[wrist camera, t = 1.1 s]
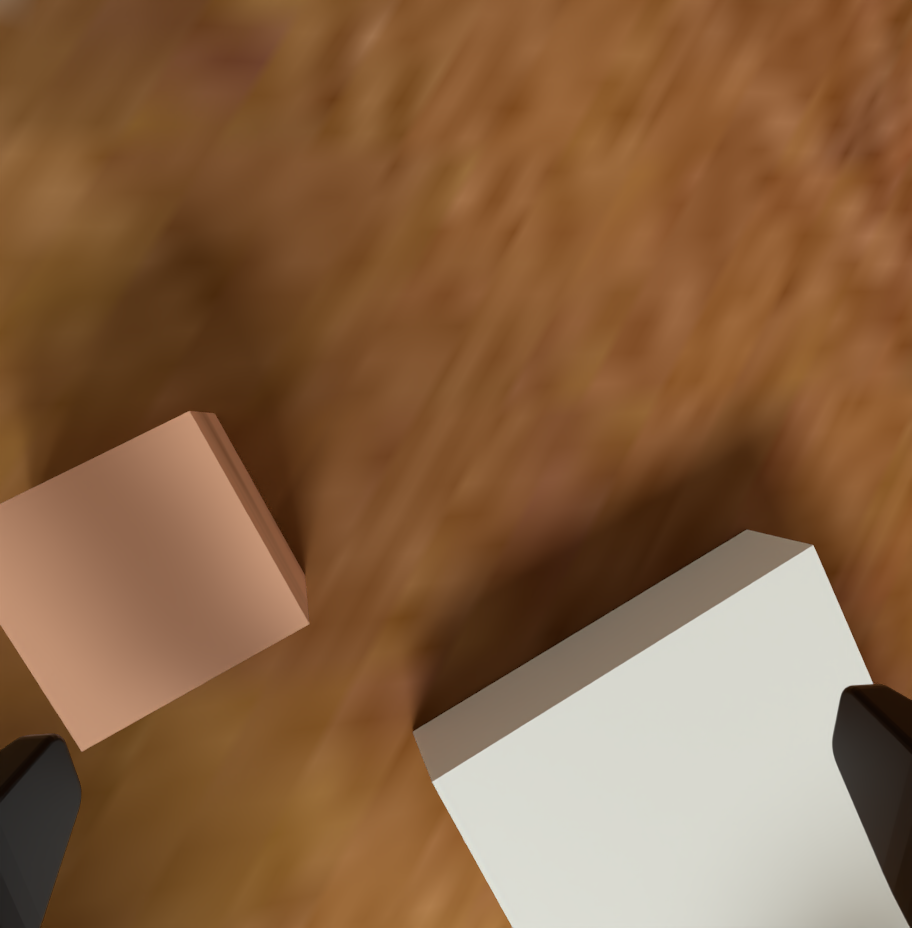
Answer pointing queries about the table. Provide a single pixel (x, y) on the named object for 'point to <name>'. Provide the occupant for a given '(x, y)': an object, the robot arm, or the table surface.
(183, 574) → the terracotta block
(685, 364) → the table surface
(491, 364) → the table surface
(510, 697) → the white slab
